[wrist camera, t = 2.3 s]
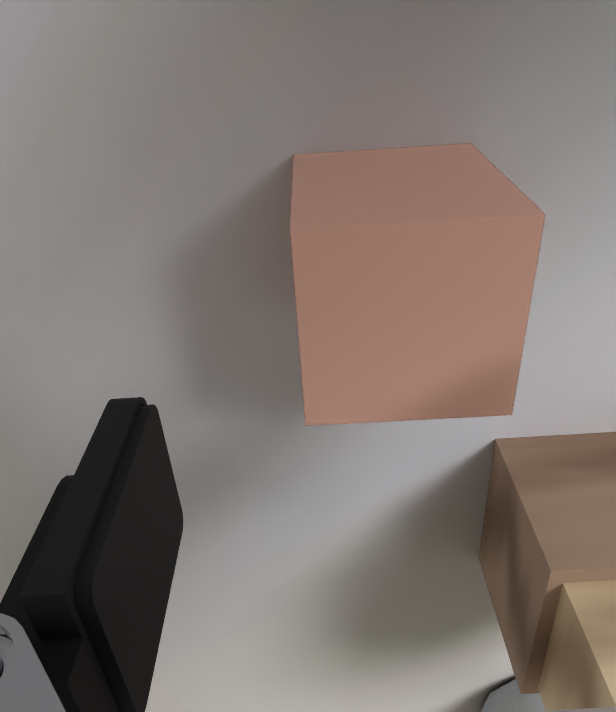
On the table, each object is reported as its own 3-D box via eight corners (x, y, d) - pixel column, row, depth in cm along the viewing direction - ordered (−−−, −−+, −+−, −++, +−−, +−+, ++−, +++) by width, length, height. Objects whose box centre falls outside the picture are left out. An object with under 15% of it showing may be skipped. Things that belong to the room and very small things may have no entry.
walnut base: (494, 437, 22) (550, 570, 17) (680, 427, 22) (791, 558, 17) (478, 556, 26) (520, 693, 21) (636, 548, 26) (717, 685, 21)
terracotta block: (293, 154, 17) (289, 229, 11) (470, 142, 16) (545, 214, 11) (304, 309, 19) (305, 425, 14) (456, 300, 19) (511, 415, 14)
